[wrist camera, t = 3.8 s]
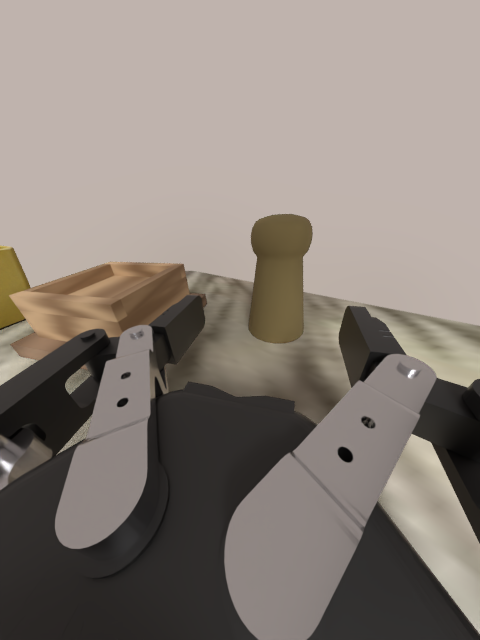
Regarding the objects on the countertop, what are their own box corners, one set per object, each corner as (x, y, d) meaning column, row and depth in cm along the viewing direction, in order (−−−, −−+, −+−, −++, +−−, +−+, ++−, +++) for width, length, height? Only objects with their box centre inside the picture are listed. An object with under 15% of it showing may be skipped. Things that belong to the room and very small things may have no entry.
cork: (266, 350, 18) (271, 219, 12) (239, 321, 23) (233, 216, 17) (315, 332, 20) (339, 213, 15) (281, 309, 25) (289, 211, 19)
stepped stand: (206, 303, 27) (200, 260, 24) (139, 380, 16) (110, 316, 13) (125, 297, 31) (109, 258, 27) (20, 356, 19) (-26, 301, 16)
